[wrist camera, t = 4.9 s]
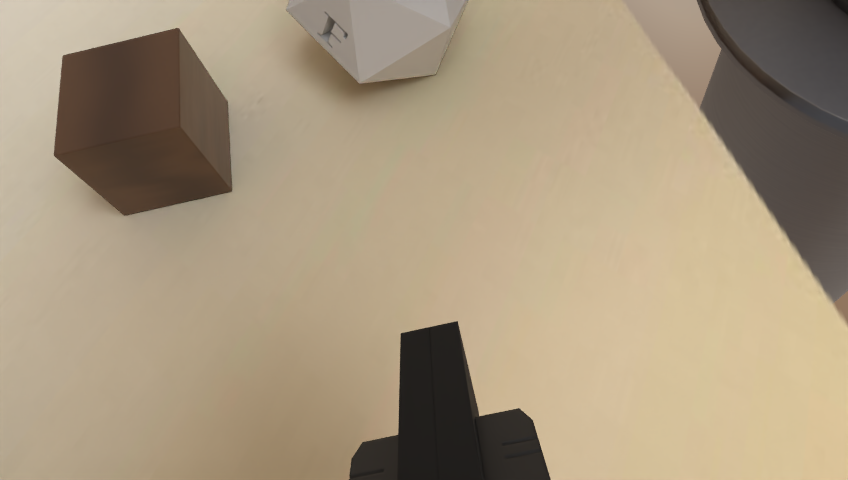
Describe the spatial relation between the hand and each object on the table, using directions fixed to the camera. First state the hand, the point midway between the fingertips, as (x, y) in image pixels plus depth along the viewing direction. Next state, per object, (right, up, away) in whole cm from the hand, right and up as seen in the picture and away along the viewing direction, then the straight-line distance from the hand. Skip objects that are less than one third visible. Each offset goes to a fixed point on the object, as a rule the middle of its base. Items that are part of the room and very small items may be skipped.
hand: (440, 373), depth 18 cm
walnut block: (-14, +8, +20) cm, 25 cm away
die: (-2, +14, +21) cm, 25 cm away
